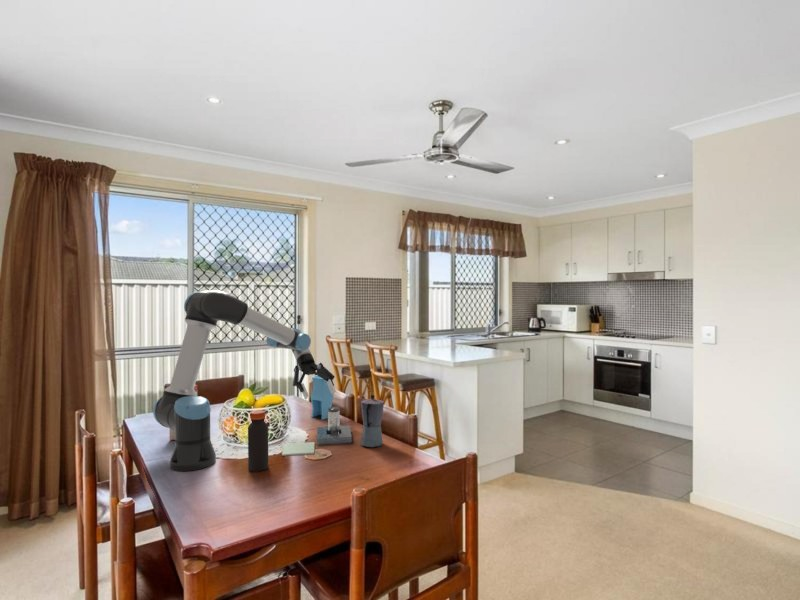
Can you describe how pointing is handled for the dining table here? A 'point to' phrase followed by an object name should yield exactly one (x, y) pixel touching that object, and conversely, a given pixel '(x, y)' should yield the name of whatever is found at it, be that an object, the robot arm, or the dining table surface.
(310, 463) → the dining table surface
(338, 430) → the silver canister
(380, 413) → the moka pot
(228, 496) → the dining table surface
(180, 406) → the robot arm
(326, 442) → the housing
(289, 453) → the mat
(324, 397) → the blue notched block
